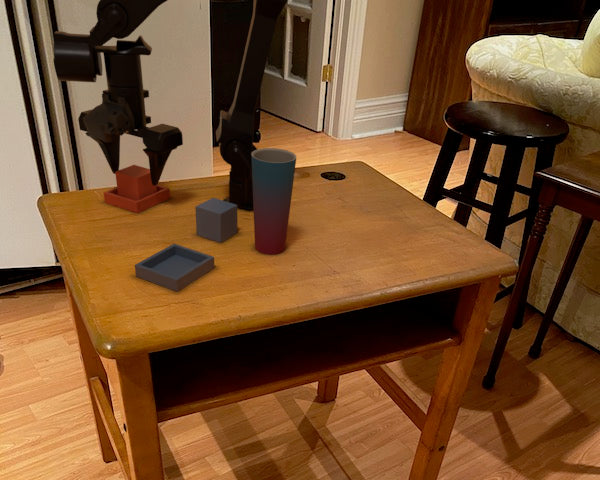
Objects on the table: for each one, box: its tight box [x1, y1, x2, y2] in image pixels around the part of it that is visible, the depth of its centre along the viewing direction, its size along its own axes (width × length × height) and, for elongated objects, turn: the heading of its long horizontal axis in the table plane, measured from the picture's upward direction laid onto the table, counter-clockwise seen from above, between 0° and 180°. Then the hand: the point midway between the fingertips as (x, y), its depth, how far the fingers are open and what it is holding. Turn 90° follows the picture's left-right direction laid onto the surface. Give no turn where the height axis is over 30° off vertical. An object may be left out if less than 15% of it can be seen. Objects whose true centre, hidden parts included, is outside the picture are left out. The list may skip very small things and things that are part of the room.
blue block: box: [195, 197, 238, 244], centre depth 99 cm, size 5×5×5 cm
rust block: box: [114, 164, 157, 201], centre depth 107 cm, size 5×5×5 cm
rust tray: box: [103, 184, 171, 214], centre depth 108 cm, size 9×8×2 cm
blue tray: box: [134, 243, 215, 293], centre depth 88 cm, size 9×8×2 cm
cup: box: [251, 147, 297, 255], centre depth 93 cm, size 7×7×15 cm
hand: (135, 179), depth 106 cm, fingers open, 9 cm apart
